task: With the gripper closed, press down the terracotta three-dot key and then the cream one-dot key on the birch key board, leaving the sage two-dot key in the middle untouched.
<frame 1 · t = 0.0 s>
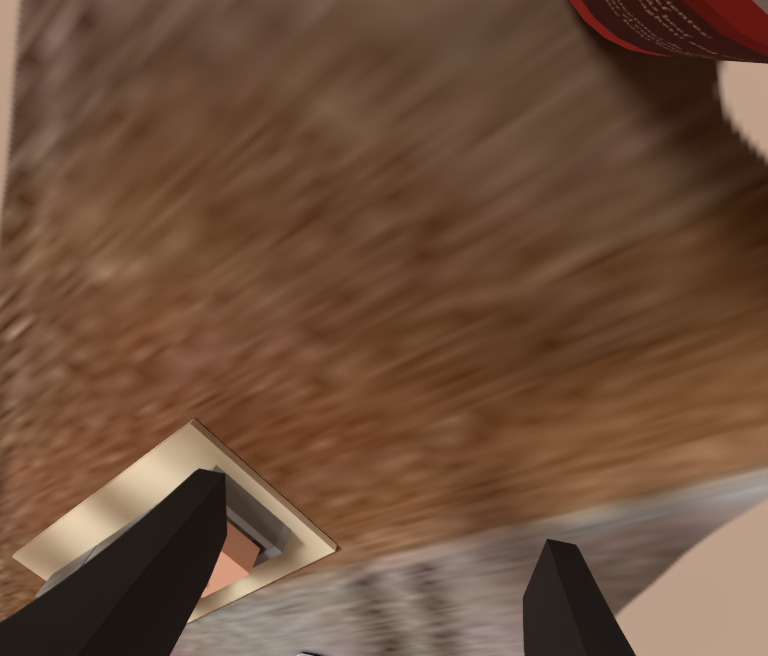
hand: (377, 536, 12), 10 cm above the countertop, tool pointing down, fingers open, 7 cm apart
key board: (164, 548, 30), on the countertop
key three: (203, 552, 25), point 3 cm above the countertop, slide at 0.0 cm
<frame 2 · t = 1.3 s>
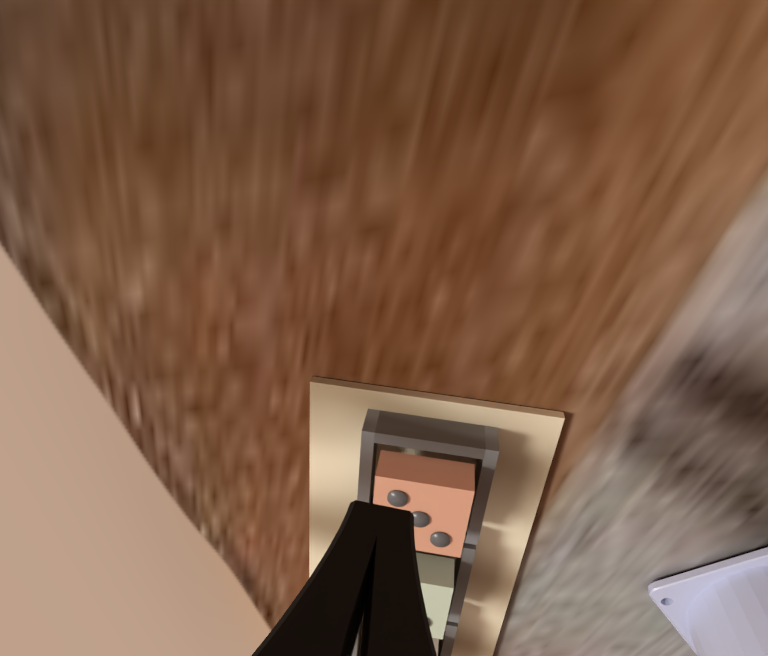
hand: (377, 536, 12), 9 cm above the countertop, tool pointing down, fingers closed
key two: (407, 593, 23), point 3 cm above the countertop, slide at 0.0 cm
key board: (412, 545, 25), on the countertop
key three: (420, 505, 20), point 3 cm above the countertop, slide at 0.0 cm
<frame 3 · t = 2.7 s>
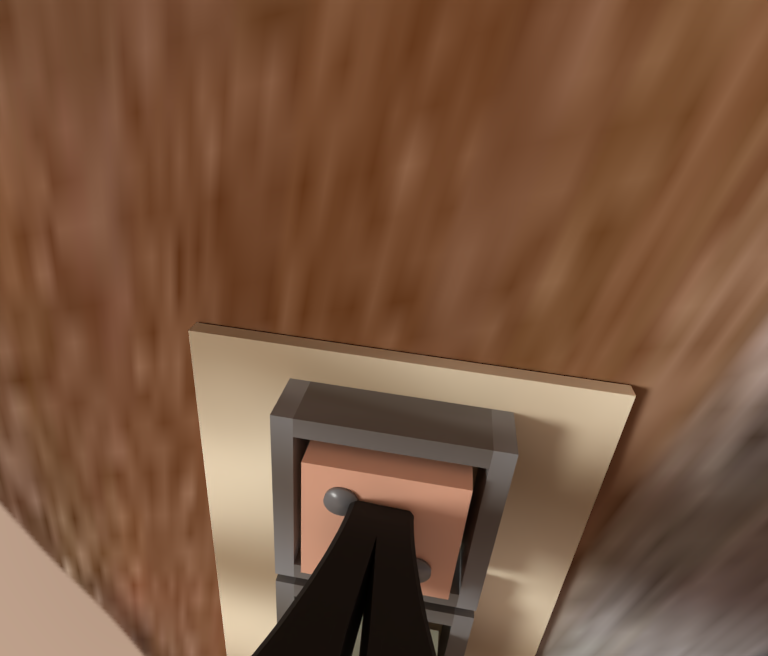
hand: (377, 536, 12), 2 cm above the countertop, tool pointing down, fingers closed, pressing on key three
key board: (376, 597, 16), on the countertop
key three: (383, 512, 12), point 2 cm above the countertop, slide at -1.0 cm, touching gripper
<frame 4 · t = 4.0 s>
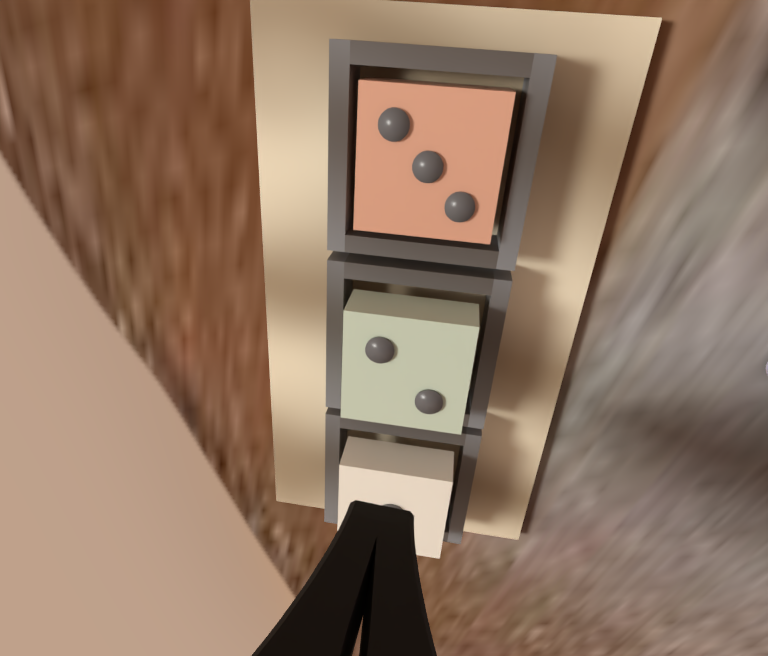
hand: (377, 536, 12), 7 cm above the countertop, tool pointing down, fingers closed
key one: (393, 498, 18), point 3 cm above the countertop, slide at 0.0 cm
key two: (407, 363, 15), point 3 cm above the countertop, slide at 0.0 cm
key board: (415, 322, 17), on the countertop
key three: (429, 161, 13), point 2 cm above the countertop, slide at -1.0 cm
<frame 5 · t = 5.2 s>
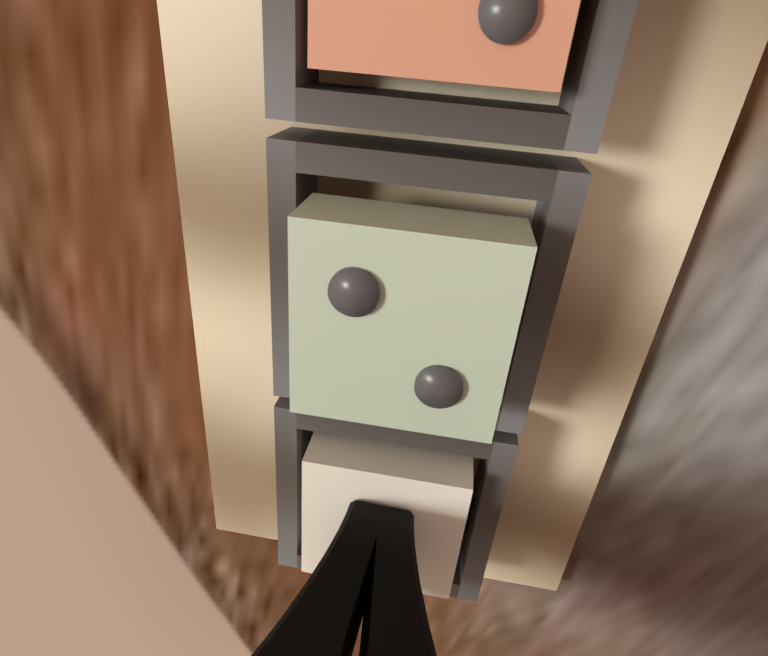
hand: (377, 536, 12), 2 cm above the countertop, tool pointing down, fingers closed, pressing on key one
key one: (384, 511, 12), point 2 cm above the countertop, slide at -0.8 cm, touching gripper
key two: (402, 321, 9), point 3 cm above the countertop, slide at 0.0 cm
key board: (416, 265, 11), on the countertop
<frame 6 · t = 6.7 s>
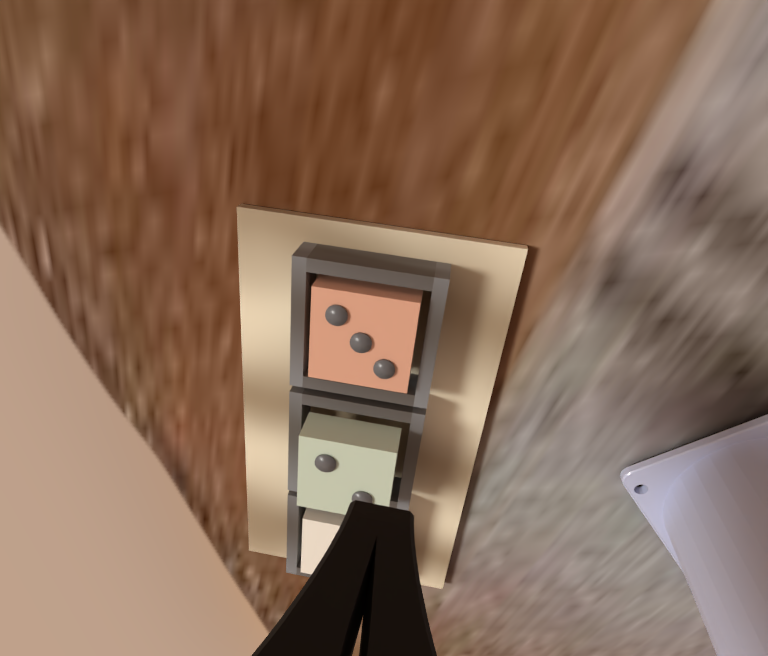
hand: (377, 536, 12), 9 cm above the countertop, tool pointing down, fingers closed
key one: (344, 542, 24), point 2 cm above the countertop, slide at -1.0 cm
key two: (347, 468, 20), point 3 cm above the countertop, slide at 0.0 cm
key board: (360, 426, 22), on the countertop
key three: (364, 332, 18), point 2 cm above the countertop, slide at -1.0 cm
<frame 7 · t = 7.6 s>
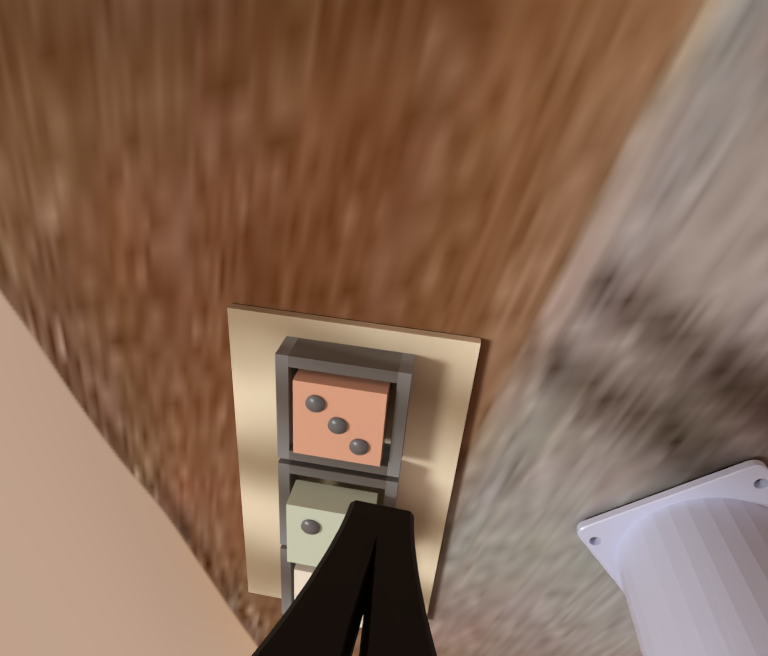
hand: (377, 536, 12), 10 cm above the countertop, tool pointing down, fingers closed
key one: (332, 587, 26), point 2 cm above the countertop, slide at -1.0 cm
key two: (331, 528, 23), point 3 cm above the countertop, slide at 0.0 cm
key board: (343, 485, 25), on the countertop
key three: (341, 414, 21), point 2 cm above the countertop, slide at -1.0 cm
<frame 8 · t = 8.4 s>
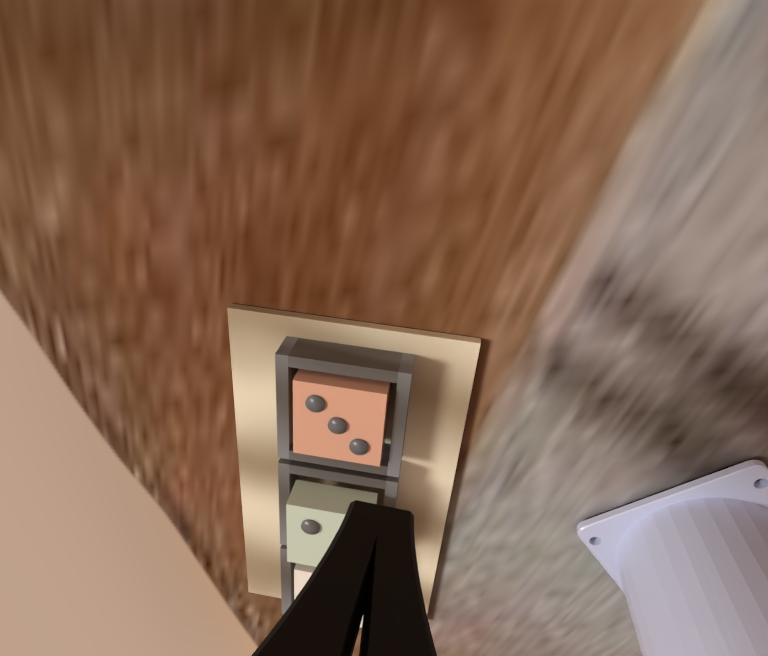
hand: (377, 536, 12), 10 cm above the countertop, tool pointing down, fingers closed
key one: (332, 587, 26), point 2 cm above the countertop, slide at -1.0 cm
key two: (331, 528, 23), point 3 cm above the countertop, slide at 0.0 cm
key board: (343, 485, 25), on the countertop
key three: (341, 414, 21), point 2 cm above the countertop, slide at -1.0 cm
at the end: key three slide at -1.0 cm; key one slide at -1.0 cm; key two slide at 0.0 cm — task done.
